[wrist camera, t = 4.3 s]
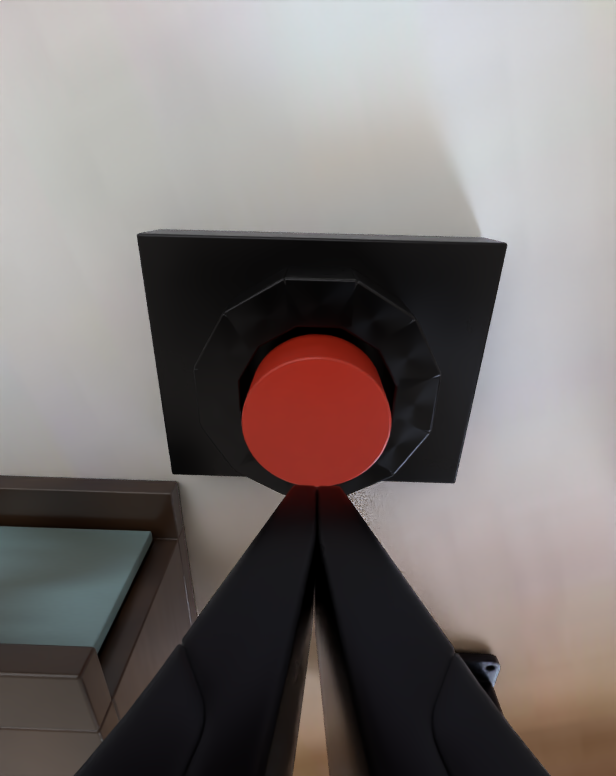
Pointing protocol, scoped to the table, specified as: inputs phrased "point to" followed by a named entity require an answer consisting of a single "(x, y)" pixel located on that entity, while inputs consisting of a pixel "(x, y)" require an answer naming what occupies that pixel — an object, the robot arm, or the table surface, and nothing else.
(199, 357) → the button housing
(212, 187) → the table surface
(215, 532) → the table surface
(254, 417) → the red button
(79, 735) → the display cabinet
